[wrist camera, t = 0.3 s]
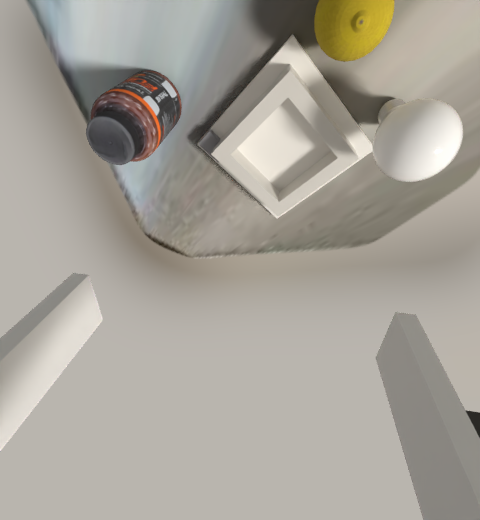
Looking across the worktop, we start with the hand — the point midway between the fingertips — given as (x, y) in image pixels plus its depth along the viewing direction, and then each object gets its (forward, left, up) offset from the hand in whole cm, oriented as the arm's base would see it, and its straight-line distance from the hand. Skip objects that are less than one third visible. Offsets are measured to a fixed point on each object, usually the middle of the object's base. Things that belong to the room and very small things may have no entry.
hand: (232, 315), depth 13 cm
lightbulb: (-9, +9, -26) cm, 29 cm away
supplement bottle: (+8, -9, -26) cm, 29 cm away
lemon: (-10, -1, -26) cm, 28 cm away
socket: (+1, +4, -26) cm, 26 cm away
